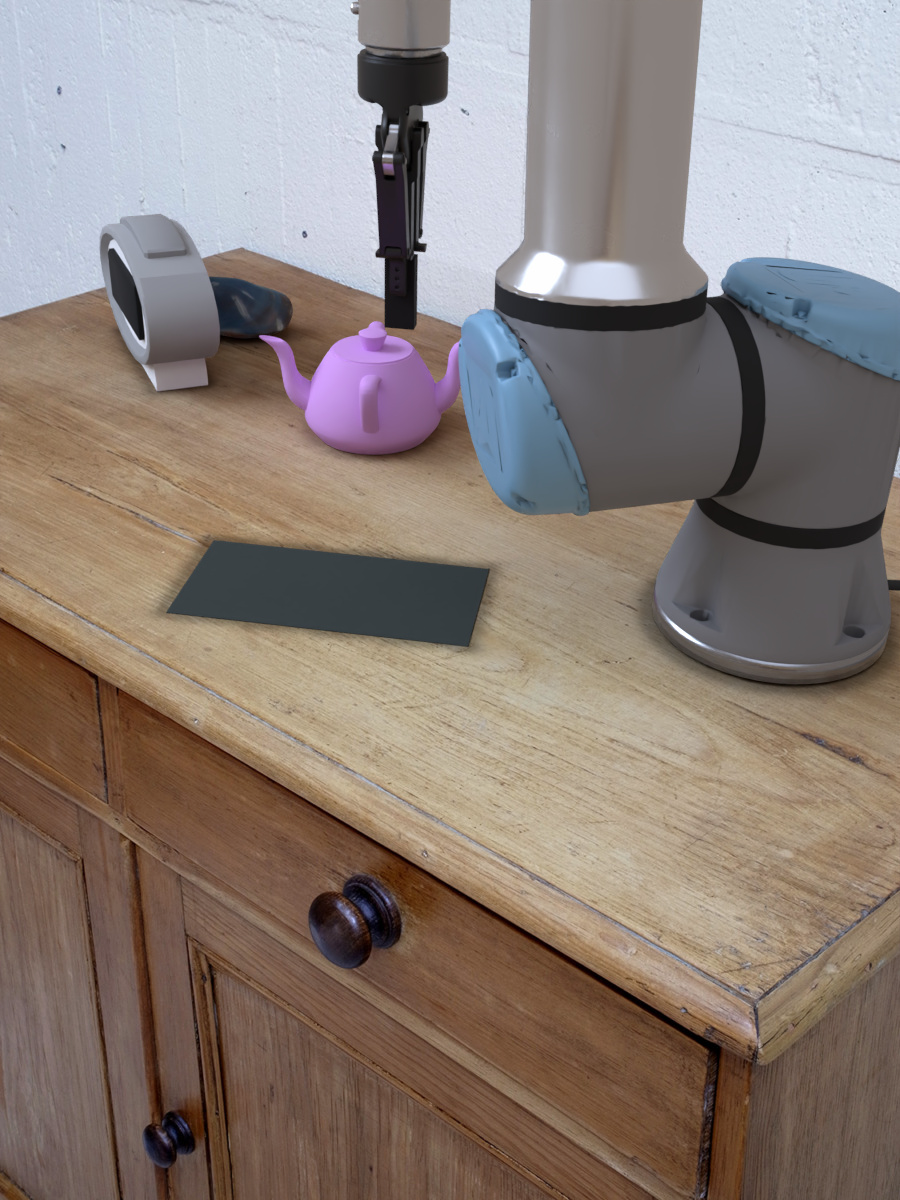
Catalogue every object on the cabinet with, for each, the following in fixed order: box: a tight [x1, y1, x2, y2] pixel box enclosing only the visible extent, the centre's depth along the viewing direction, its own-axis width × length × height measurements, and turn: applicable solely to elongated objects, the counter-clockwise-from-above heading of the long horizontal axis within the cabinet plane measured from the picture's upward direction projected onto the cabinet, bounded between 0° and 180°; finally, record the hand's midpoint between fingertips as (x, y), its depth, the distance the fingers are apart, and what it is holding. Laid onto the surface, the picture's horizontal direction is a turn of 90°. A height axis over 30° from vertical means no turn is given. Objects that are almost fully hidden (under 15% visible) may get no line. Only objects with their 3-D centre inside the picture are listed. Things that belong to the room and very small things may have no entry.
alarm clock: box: [98, 213, 221, 392], centre depth 121 cm, size 23×6×13 cm, turn 23°
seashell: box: [209, 276, 294, 340], centre depth 130 cm, size 6×9×10 cm
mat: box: [165, 539, 490, 648], centre depth 89 cm, size 20×10×1 cm, turn 81°
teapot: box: [259, 320, 461, 456], centre depth 109 cm, size 12×14×9 cm
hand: (400, 325), depth 120 cm, fingers closed
